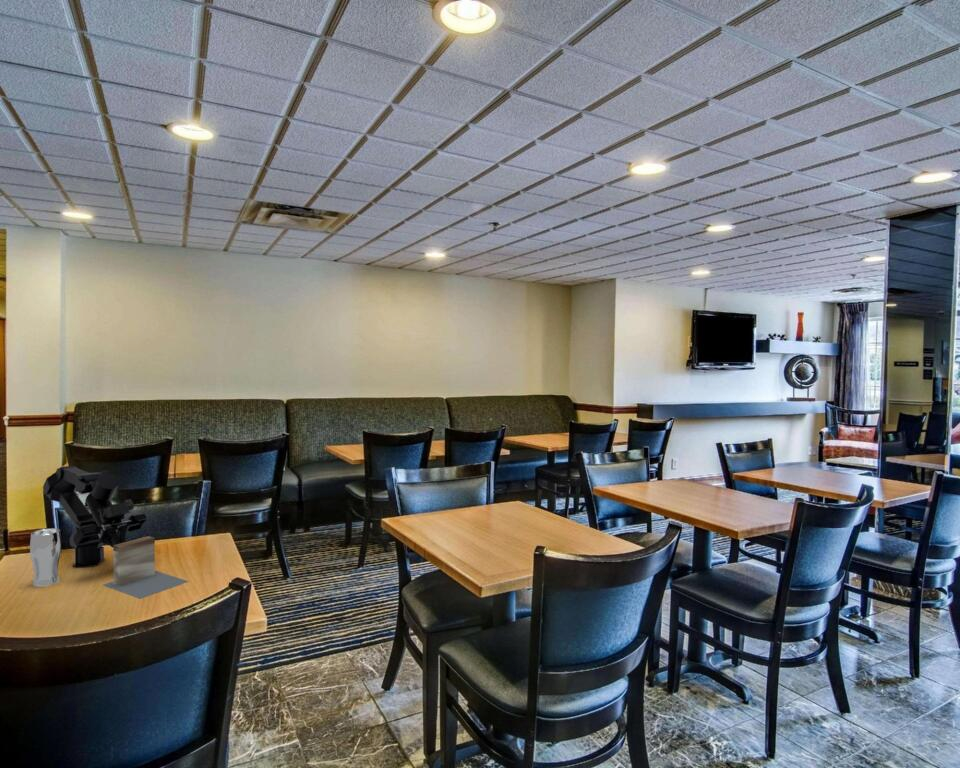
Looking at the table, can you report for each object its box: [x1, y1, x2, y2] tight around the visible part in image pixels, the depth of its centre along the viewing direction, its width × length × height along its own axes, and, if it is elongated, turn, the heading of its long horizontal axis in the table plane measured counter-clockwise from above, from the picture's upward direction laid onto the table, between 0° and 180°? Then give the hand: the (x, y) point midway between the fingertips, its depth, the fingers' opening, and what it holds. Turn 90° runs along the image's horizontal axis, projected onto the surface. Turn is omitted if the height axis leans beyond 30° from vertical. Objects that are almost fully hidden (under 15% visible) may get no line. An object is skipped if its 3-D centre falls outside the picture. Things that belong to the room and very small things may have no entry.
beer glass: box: [29, 527, 62, 588], centre depth 161 cm, size 7×7×15 cm
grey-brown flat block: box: [112, 535, 156, 586], centre depth 165 cm, size 3×10×11 cm, turn 151°
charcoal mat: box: [102, 570, 190, 600], centre depth 162 cm, size 18×14×1 cm
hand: (123, 551), depth 167 cm, fingers closed
